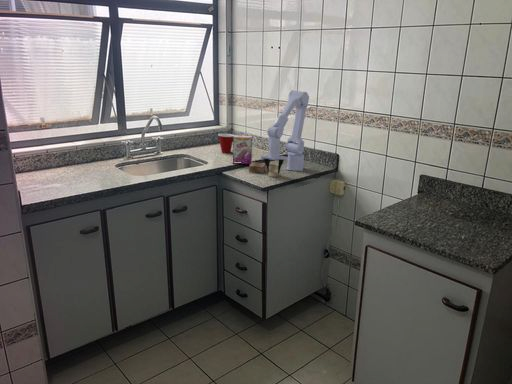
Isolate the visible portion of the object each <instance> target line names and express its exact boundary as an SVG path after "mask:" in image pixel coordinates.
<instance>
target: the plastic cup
mask: <svg viewBox="0 0 512 384" xmlns="http://www.w3.org/2000/svg"><path fill="white" fill-rule="evenodd" d="M234 135H235V134H232V133H218V134H217V136H218V139H219V146H220V150H221V153H222V154H230V153H231V150H232V148H233V137H234Z"/></svg>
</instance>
